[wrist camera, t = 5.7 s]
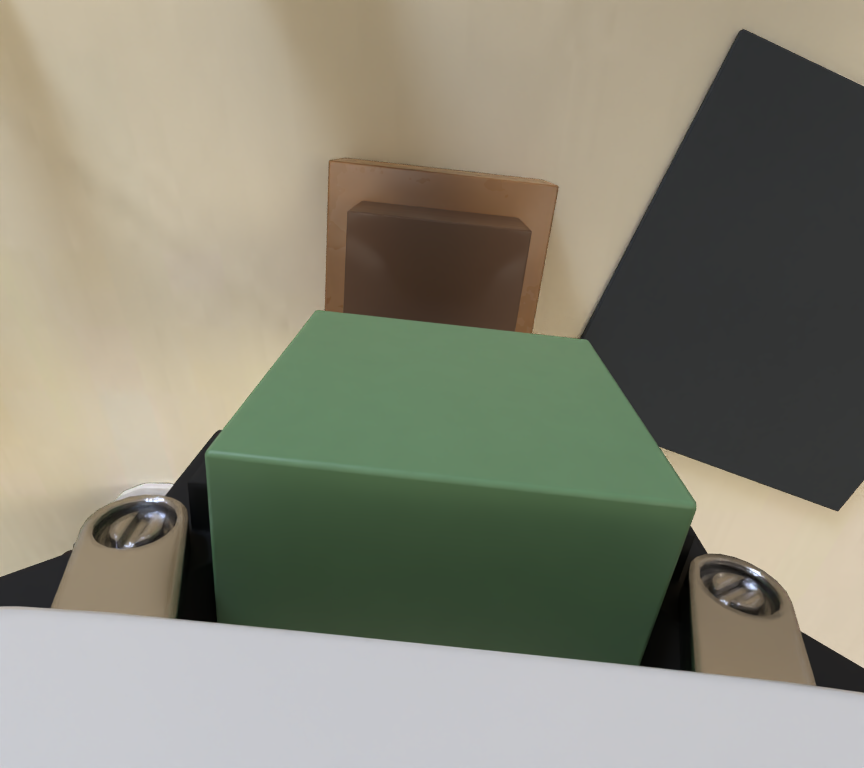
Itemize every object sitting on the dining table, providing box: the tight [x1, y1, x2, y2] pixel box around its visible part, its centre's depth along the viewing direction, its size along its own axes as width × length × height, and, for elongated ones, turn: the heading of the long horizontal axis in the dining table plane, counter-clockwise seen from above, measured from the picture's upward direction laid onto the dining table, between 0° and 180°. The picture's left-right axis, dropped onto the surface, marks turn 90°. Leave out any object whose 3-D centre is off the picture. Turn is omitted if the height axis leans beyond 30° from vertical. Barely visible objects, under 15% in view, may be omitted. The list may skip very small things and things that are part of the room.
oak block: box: [325, 158, 559, 334], centre depth 28 cm, size 10×10×4 cm
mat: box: [581, 29, 864, 511], centre depth 30 cm, size 20×20×1 cm
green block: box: [205, 310, 696, 666], centre depth 10 cm, size 6×6×6 cm
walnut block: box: [343, 201, 532, 332], centre depth 24 cm, size 7×7×4 cm
